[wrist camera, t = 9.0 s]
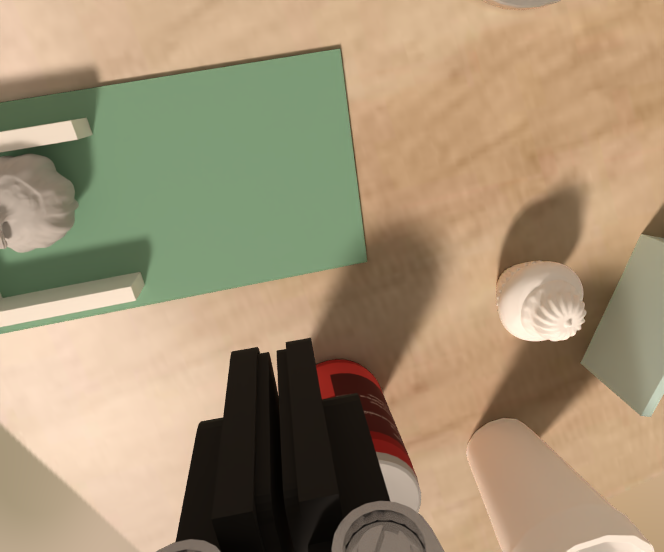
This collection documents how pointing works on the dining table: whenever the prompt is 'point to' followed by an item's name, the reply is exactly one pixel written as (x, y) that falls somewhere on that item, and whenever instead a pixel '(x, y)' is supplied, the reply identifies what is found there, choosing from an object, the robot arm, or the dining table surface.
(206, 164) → the felt mat
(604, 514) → the foam cup
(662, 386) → the right angle wall
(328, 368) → the canned food
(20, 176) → the garlic
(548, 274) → the muffin
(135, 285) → the white u-shaped frame
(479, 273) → the dining table surface
